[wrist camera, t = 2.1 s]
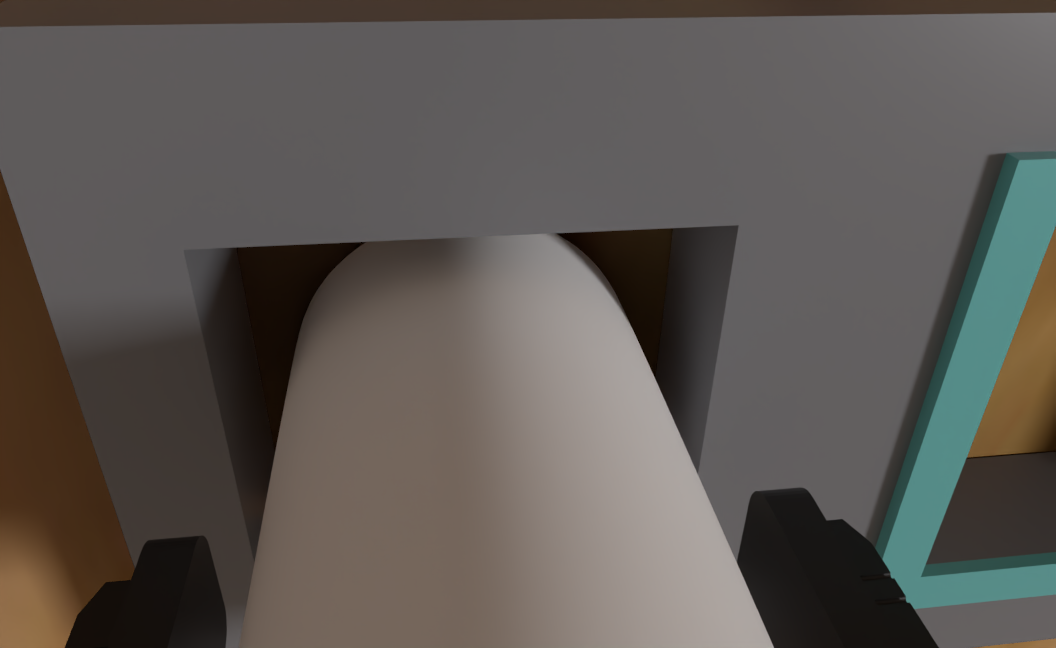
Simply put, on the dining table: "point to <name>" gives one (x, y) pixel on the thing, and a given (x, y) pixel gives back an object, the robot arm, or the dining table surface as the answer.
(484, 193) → the dock panel
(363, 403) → the can
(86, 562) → the dining table surface
